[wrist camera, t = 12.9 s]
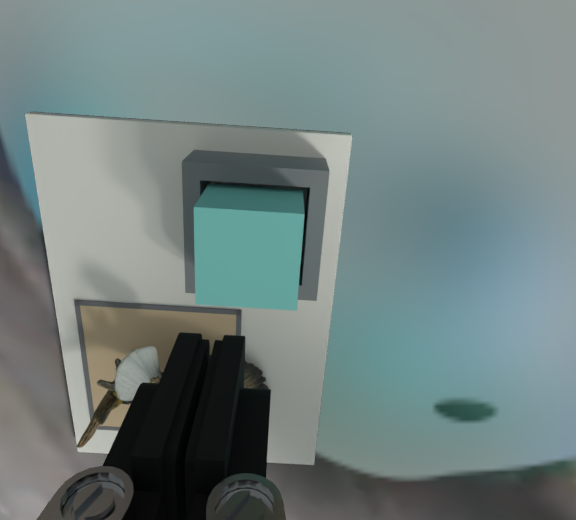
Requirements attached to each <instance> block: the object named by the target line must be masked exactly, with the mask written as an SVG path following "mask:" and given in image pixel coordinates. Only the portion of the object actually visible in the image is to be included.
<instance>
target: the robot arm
mask: <svg viewBox="0 0 576 520" xmlns="http://www.w3.org/2000/svg"><path fill="white" fill-rule="evenodd" d="M244 373H245V336H237V335H224V337H223V340H215V342H214V346H213V350H212V354H211V358H210V342H209V340H207V339H202V334H201V333H184V332H180V333H179V334H178V336H177V339H176V341H175V344H174V346H173V349H172V351H171V354H170V356H169V359H168V361H167V364H166V367H165V369H164V372H163V374H162V377H161V379H160V382H159V383H144V382H143V383H141V384H140V386H139V387H138V389H137V391H136V394H135V396H134V398H133V400H132V402H131V405H130V407H129V409H128V411H127V413H126V416H125V418H124V420H123V422H122V424H121V427H120V429H119V431H118V433H117V436H116V438H115V440H114V442H113V444H112V447H111V449H110V451H109V453H108V455H107V458H106V460H105V462H104V464H103V466H98V467H93V468H89V469H86V470H84V471H81V472H79V473H77V474H75V475H74V476H72V477H71V478H70V479H68V480H67V481H66V482H65V483H64V484H63V485H62V486H61V487H60V488H59V489H58V490H57V492H56V493H55V494H54V496H53V497H52V499H51V500H50V501H49V503H48V504H47V506H46V507H45V508H44V510H43V511H42V513H41V514H40V516H39V517H38V518H37V520H286V518H285V511H284V505H283V500H282V497H281V494H280V491H279V490H278V489H277V487H276V486H275V485H274V484H273V483H272V482H271V481H269V480H268V479H266V466H267V449H268V432H269V415H270V398H271V389H255V388H244Z"/></svg>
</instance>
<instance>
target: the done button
mask: <svg viewBox="0 0 576 520" xmlns="http://www.w3.org/2000/svg"><path fill="white" fill-rule="evenodd" d="M304 215H305V213H304V198H303V190H295V189H280V188H264V187H249V186H234V185H218V184H208V186H207V187H206V189H205V190H204V192H203V193H202V195H201V197H200V198H199V200H198V201H197V203H196V204H195V206H194V255H195V304H198V305H215V306H231V307H247V308H264V309H280V310H296V311H297V301H298V288H299V276H300V264H301V252H302V239H303V227H304Z"/></svg>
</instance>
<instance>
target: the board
mask: <svg viewBox="0 0 576 520" xmlns="http://www.w3.org/2000/svg"><path fill="white" fill-rule="evenodd" d="M25 119H26V125H27V131H28V138H29V144H30V150H31V156H32V162H33V169H34V176H35V182H36V188H37V194H38V201H39V208H40V214H41V220H42V227H43V233H44V239H45V246H46V252H47V258H48V265H49V271H50V277H51V284H52V290H53V296H54V303H55V309H56V316H57V322H58V328H59V335H60V341H61V347H62V354H63V360H64V366H65V373H66V379H67V385H68V392H69V398H70V404H71V411H72V417H73V423H74V430H75V436H76V443H77V445H78V443H79V441H80V439H81V437H82V435H83V433H84V432H85V430H86V429H87V427H88V425H89V423H90V421H91V419H92V417H93V415H94V412H95V410H96V409H97V407H98V405H99V403H100V402H101V400H102V399H103V397H104V396H105V394H106V393H107V391H108V389H106V388H104V387H101V386H99V385H97V382H98V381H99V380H105V381H109V382H113V381H114V379H115V376H116V365H115V359H117V358H119V359H120V360H121V361H122V359H123V358H125V357H126V356H127V355H128V354H129V353H130V352H131V351H132V350H134V349H139V348H143V347H146V346H154V347H156V349H157V355H158V361H159V365H160V370H161V372H164V369H165V367H166V364H167V361H168V359H169V356H170V354H171V351H172V349H173V346H174V344H175V341H176V339H177V336H178V334H179V333H180V332H184V333H201V334H202V339H207V340H209V342H210V355H211V354H212V350H213V346H214V342H215V340H223V337H224V335H237V336H245V361H247V363H252V364H254V366H255V367H258V368H259V369H260V370H262V372H263V374H262V376H263V377H265V378H266V381H265V382H263V384H266V385H267V386H268V388H269V389H271V398H270V415H269V432H268V449H267V463H285V464H303V465H314V461H315V452H316V443H317V435H318V426H319V418H320V408H321V401H322V391H323V383H324V375H325V366H326V358H327V349H328V340H329V331H330V323H331V314H332V306H333V298H334V288H335V280H336V271H337V262H338V255H339V246H340V238H341V228H342V220H343V210H344V203H345V194H346V185H347V177H348V168H349V160H350V152H351V143H352V135H351V133H341V132H327V131H311V130H297V129H296V130H295V129H282V128H268V127H251V126H238V125H223V124H208V123H207V124H206V123H193V122H178V121H162V120H147V119H133V118H117V117H103V116H88V115H74V114H59V113H44V112H43V113H42V112H30V113H25ZM208 184H218V185H234V186H249V187H264V188H280V189H295V190H303V198H304V213H305V215H304V227H303V239H302V252H301V264H300V276H299V288H298V301H297V311H296V310H280V309H264V308H247V307H231V306H215V305H198V304H195V255H194V206H195V204H196V203H197V201H198V200H199V198H200V197H201V195H202V193H203V192H204V190H205V189H206V187H207V186H208ZM130 405H131V404H128V405H126V404H120V405H119V406H118V407H117V408H115V409H114V410H112V411H111V412H110V414H109V415H108V418H107V419H106V421H105V422H104V424H103V425H100V426H99V427H98V428H97V430H96V432H95V434H94V435H93V437H92V438H91V439H90V440H89V441H88V442H87V443H86V444H85V445H84V446H83V447H81V448H78V447H77V449H78V452H89V453H107V454H108V453H109V451H110V449H111V447H112V444H113V442H114V440H115V438H116V436H117V433H118V431H119V429H120V427H121V424H122V422H123V420H124V418H125V416H126V413H127V411H128V409H129V407H130Z"/></svg>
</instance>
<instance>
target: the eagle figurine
mask: <svg viewBox="0 0 576 520" xmlns="http://www.w3.org/2000/svg"><path fill="white" fill-rule="evenodd" d="M210 358H211V355H210ZM115 365H116V376H115V379H114V381H113V382H109V381H105V380H99V381H98V382H97V385H99V386H101V387H104V388H106V389H108V391H107V393H106V394H105V396H104V397H103V399H102V400H101V402H100V403H99V405H98V407H97V409H96V410H95V412H94V415H93V417H92V419H91V421H90V423H89V425H88V427H87V429H86V430H85V432H84V433H83V435H82V437H81V439H80V441H79V443H78V445H77V447H78V448H81V447H83V446H84V445H85V444H86V443H87V442H88V441H89V440H90V439H91V438H92V437H93V435H94V434H95V432H96V430H97V428H98V427H99V426H100V425H103V424H104V422H105V421H106V419H107V418H108V415H109V414H110V412H111V411H112V410H114V409H115V408H117V407H118V406H119V405H120V404H126V405H128V404H131V402H132V400H133V398H134V396H135V394H136V391H137V389H138V387H139V386H140V384H141V383H143V382H144V383H159V382H160V379H161V377H162V374H163V372H161V370H160V365H159V361H158V355H157V349H156V347H154V346H146V347H143V348H139V349H134V350H132V351H131V352H130V353H129V354H128V355H127V356H126V357H125V358H123V359H122V361H121V360H120V359H119V358H117V359H115ZM262 374H263V372H262V370H260V369H259V368H258V367H255V366H254V364H252V363H247V361H245V373H244V388H255V389H269V388H268V386H267V385H266V384H263V382H265V381H266V378H265V377H263V376H262Z"/></svg>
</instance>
